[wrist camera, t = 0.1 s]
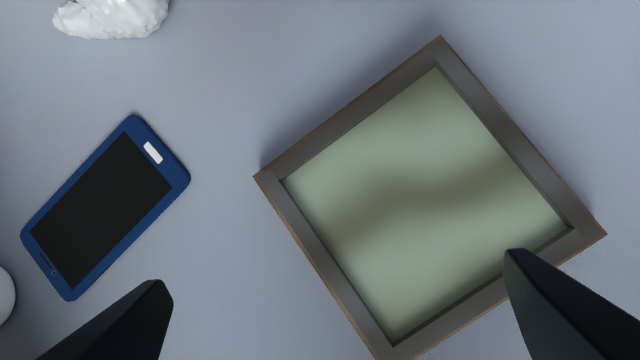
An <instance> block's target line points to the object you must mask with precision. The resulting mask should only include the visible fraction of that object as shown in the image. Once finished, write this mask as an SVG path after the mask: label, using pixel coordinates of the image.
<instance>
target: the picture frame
mask: <svg viewBox="0 0 640 360" xmlns="http://www.w3.org/2000/svg"><path fill="white" fill-rule="evenodd" d="M252 177H253V178H254V180H255V181H256V183H257V184H258V186H259V187H260V188H261V190H262V191H263V193H264V194H265V196H266V197H267V199H268V200H269V202H270V203H271V205H272V206H273V208H274V209H275V211H276V212H277V214H278V215H279V217H280V218H281V220H282V221H283V223H284V224H285V226H286V227H287V229H288V230H289V232H290V233H291V235H292V236H293V238H294V239H295V241H296V242H297V244H298V245H299V247H300V248H301V250H302V251H303V252H304V254H305V255H306V257H307V258H308V260H309V261H310V263H311V264H312V266H313V267H314V269H315V270H316V272H317V273H318V275H319V276H320V278H321V279H322V281H323V282H324V284H325V285H326V287H327V288H328V290H329V291H330V293H331V294H332V296H333V297H334V299H335V300H336V302H337V303H338V305H339V306H340V308H341V309H342V311H343V312H344V313H345V315H346V316H347V318H348V319H349V321H350V322H351V324H352V325H353V327H354V328H355V330H356V331H357V333H358V334H359V336H360V337H361V339H362V340H363V342H364V343H365V345H366V346H367V348H368V349H369V351H370V352H371V354H372V355H373V357H374V358H375V360H414V359H416V358H417V357H419V356H420V355H422V354H423V353H425V352H426V351H428V350H429V349H431V348H433V347H434V346H436V345H437V344H439V343H440V342H442V341H443V340H445V339H447V338H448V337H450V336H451V335H453V334H454V333H456V332H457V331H459V330H460V329H462V328H464V327H465V326H467V325H468V324H470V323H471V322H473V321H474V320H476V319H478V318H479V317H481V316H482V315H484V314H485V313H487V312H488V311H490V310H491V309H493V308H495V307H496V306H498V305H499V304H501V303H502V302H504V301H505V300H507V299H509V296H508V293H507V290H506V287H505V284H504V279H503V267H504V253H505V250H507V249H509V248H521V247H522V248H526V249H528V250H529V251H531V252H533V253H534V254H536V255H537V256H539V257H540V258H542V259H544V260H545V261H547V262H548V263H550V264H551V265H553V266H555V267H556V268H557V267H558V266H560V265H561V264H563V263H564V262H566V261H567V260H569V259H571V258H572V257H574V256H575V255H577V254H578V253H580V252H581V251H583V250H584V249H586V248H588V247H589V246H591V245H592V244H594V243H595V242H597V241H598V240H600V239H602V238H603V237H605V236H606V235H608V234H607V233H606V231H605V230H604V229H603V228H602V227H601V225H600V224H599V223H598V222H597V221H596V220H595V218H594V217H593V216H592V215H591V214H590V212H589V211H588V210H587V209H586V208H585V206H584V205H583V204H582V203H581V202H580V200H579V199H578V198H577V197H576V196H575V194H574V193H573V192H572V191H571V190H570V188H569V187H568V186H567V185H566V184H565V183H564V181H563V180H562V179H561V178H560V177H559V175H558V174H557V173H556V172H555V171H554V169H553V168H552V167H551V166H550V165H549V163H548V162H547V161H546V160H545V159H544V157H543V156H542V155H541V154H540V153H539V151H538V150H537V149H536V148H535V147H534V146H533V144H532V143H531V142H530V141H529V140H528V138H527V137H526V136H525V135H524V134H523V132H522V131H521V130H520V129H519V128H518V126H517V125H516V124H515V123H514V122H513V120H512V119H511V118H510V117H509V116H508V115H507V113H506V112H505V111H504V110H503V109H502V107H501V106H500V105H499V104H498V103H497V101H496V100H495V99H494V98H493V97H492V95H491V94H490V93H489V92H488V91H487V89H486V88H485V87H484V86H483V85H482V83H481V82H480V81H479V80H478V79H477V78H476V76H475V75H474V74H473V73H472V72H471V70H470V69H469V68H468V67H467V66H466V64H465V63H464V62H463V61H462V60H461V58H460V57H459V56H458V55H457V54H456V52H455V51H454V50H453V49H452V48H451V46H450V45H449V44H448V43H447V42H446V41H445V39H444V38H443V37H442V36H441V35H439V36H438V37H437V38H435V39H434V40H433V41H431V42H430V43H429V44H427V45H426V46H425V47H423V48H422V49H421V50H420V51H418V52H417V53H416V54H414V55H413V56H412V57H410V58H409V59H408V60H406V61H405V62H404V63H402V64H401V65H400V66H398V67H397V68H396V69H394V70H393V71H392V72H390V73H389V74H388V75H386V76H385V77H384V78H382V79H381V80H380V81H378V82H377V83H376V84H374V85H373V86H372V87H370V88H369V89H368V90H366V91H365V92H364V93H362V94H361V95H360V96H358V97H357V98H356V99H354V100H353V101H352V102H350V103H349V104H348V105H346V106H345V107H344V108H342V109H341V110H340V111H338V112H337V113H336V114H334V115H333V116H332V117H330V118H329V119H328V120H326V121H325V122H324V123H322V124H321V125H320V126H318V127H317V128H316V129H315V130H313V131H312V132H311V133H309V134H308V135H307V136H305V137H304V138H303V139H301V140H300V141H299V142H297V143H296V144H295V145H293V146H292V147H291V148H289V149H288V150H287V151H285V152H284V153H283V154H281V155H280V156H279V157H277V158H276V159H275V160H273V161H272V162H271V163H269V164H268V165H267V166H265V167H264V168H263V169H261V170H260V171H259V172H257V173H256V174H255V175H253V176H252Z"/></svg>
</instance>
